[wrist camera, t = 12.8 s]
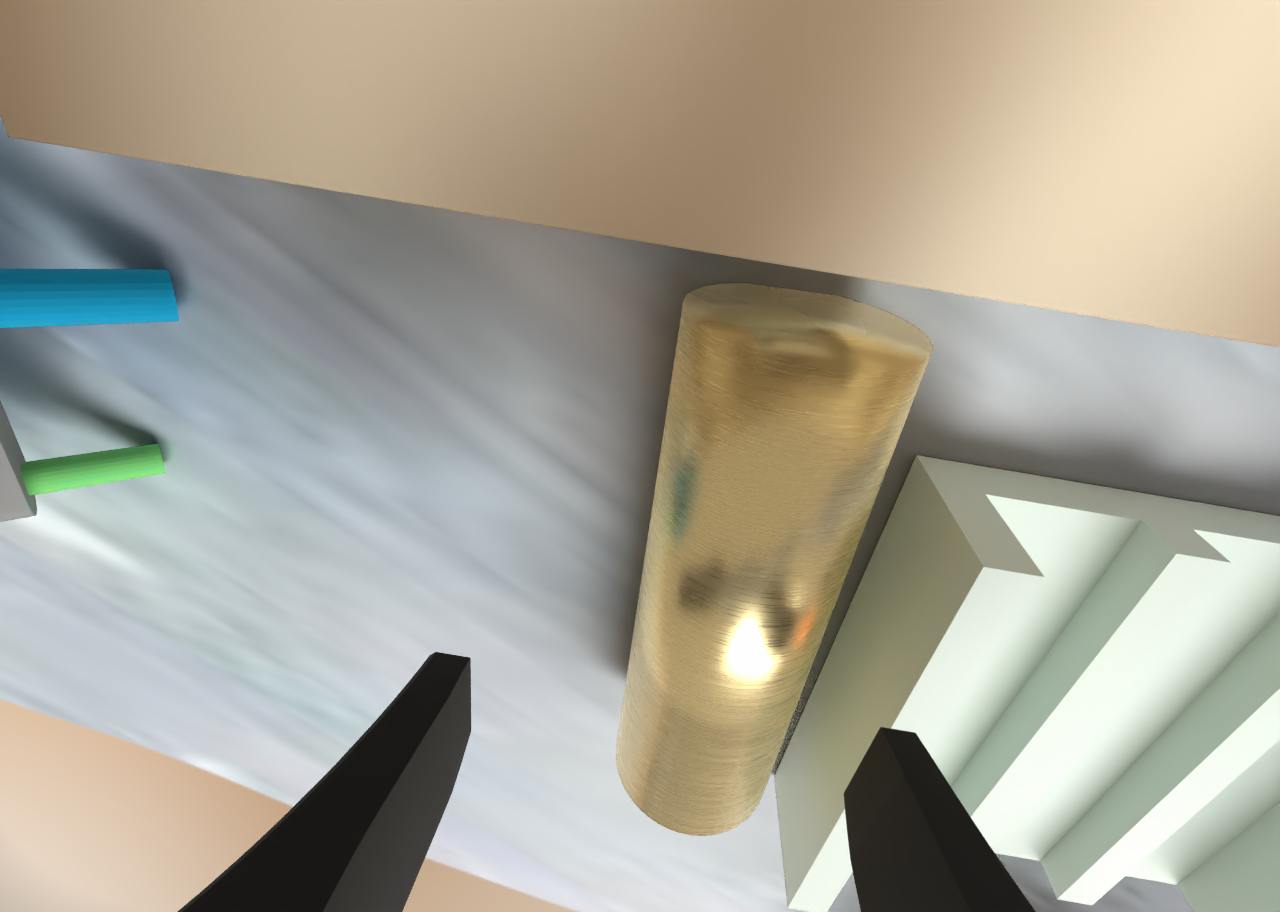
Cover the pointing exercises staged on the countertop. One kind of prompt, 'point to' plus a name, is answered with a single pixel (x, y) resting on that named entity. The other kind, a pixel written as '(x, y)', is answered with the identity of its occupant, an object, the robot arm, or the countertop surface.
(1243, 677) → the pale green slotted tray
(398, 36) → the beam
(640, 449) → the countertop surface
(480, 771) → the countertop surface
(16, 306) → the gear
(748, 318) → the axle
